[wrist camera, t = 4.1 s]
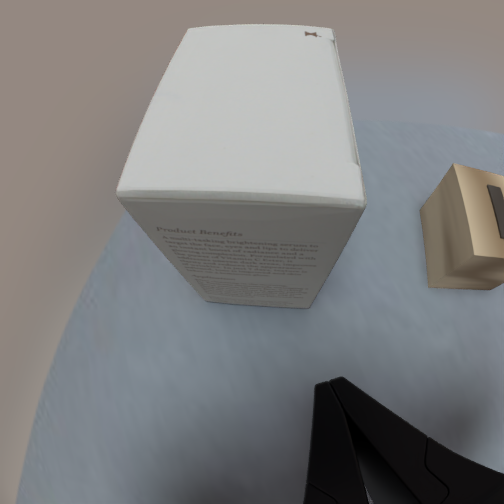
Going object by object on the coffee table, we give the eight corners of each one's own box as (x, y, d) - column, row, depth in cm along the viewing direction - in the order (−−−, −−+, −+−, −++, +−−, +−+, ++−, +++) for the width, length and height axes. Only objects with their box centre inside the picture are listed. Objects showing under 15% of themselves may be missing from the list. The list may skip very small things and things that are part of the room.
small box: (222, 176, 19) (185, 24, 9) (312, 180, 18) (335, 24, 9) (202, 304, 16) (103, 194, 6) (310, 312, 15) (372, 203, 6)
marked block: (477, 218, 17) (517, 177, 12) (489, 290, 15) (540, 261, 10) (418, 209, 17) (453, 159, 13) (427, 288, 15) (475, 253, 11)
